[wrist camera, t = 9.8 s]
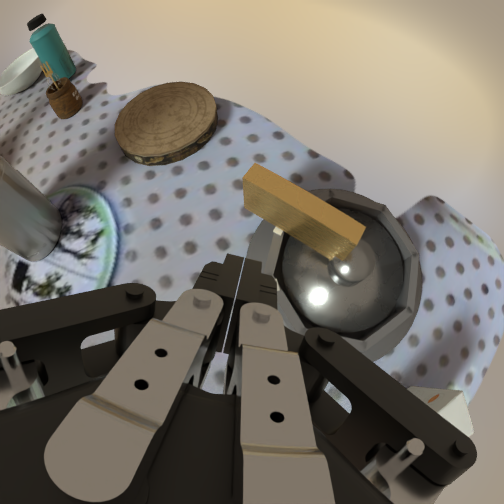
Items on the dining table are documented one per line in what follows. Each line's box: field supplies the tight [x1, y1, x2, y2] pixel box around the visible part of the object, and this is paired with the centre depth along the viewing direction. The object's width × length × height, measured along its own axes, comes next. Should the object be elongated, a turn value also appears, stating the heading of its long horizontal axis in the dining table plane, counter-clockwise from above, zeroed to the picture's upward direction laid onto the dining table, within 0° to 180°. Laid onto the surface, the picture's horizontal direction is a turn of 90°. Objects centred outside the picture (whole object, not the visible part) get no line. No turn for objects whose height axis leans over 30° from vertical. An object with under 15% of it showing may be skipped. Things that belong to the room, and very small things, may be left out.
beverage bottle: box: [27, 14, 76, 82], centre depth 39 cm, size 6×7×20 cm
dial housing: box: [246, 189, 422, 362], centre depth 32 cm, size 22×22×4 cm
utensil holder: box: [40, 61, 83, 119], centre depth 39 cm, size 6×6×12 cm
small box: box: [407, 386, 474, 437], centre depth 23 cm, size 8×6×10 cm
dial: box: [243, 163, 403, 334], centre depth 29 cm, size 20×14×9 cm
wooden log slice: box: [115, 82, 218, 166], centre depth 40 cm, size 16×16×3 cm
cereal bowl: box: [0, 48, 44, 96], centre depth 48 cm, size 17×17×7 cm
